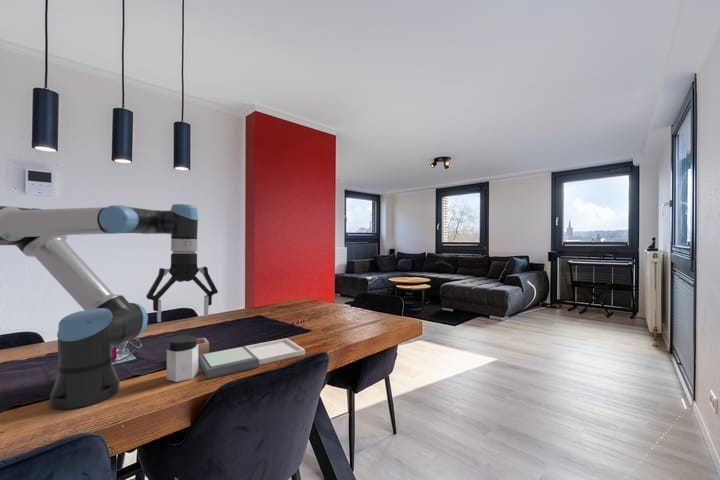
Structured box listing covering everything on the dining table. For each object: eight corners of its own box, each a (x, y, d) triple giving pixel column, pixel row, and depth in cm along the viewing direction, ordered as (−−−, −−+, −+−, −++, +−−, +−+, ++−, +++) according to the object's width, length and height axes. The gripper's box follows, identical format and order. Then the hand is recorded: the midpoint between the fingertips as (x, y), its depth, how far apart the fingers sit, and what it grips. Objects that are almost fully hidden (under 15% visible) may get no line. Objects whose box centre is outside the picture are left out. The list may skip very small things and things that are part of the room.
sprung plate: (211, 369, 105) (211, 366, 105) (203, 357, 116) (203, 354, 116) (253, 360, 113) (253, 357, 113) (241, 349, 124) (241, 347, 124)
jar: (167, 384, 100) (167, 345, 100) (166, 375, 107) (165, 338, 107) (200, 377, 105) (200, 340, 105) (196, 369, 112) (196, 333, 112)
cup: (184, 364, 116) (184, 347, 116) (181, 357, 123) (181, 341, 122) (209, 359, 121) (209, 343, 121) (205, 353, 127) (205, 337, 127)
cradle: (207, 379, 104) (207, 369, 104) (198, 363, 117) (198, 355, 117) (258, 367, 113) (258, 358, 113) (244, 354, 126) (244, 346, 126)
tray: (259, 364, 115) (259, 359, 115) (244, 350, 130) (244, 346, 130) (305, 354, 126) (305, 349, 126) (286, 342, 140) (286, 338, 140)
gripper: (138, 253, 96) (137, 326, 96) (227, 252, 111) (226, 315, 111) (136, 252, 102) (136, 321, 102) (221, 251, 117) (220, 311, 117)
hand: (183, 318), depth 106 cm, fingers open, 13 cm apart
